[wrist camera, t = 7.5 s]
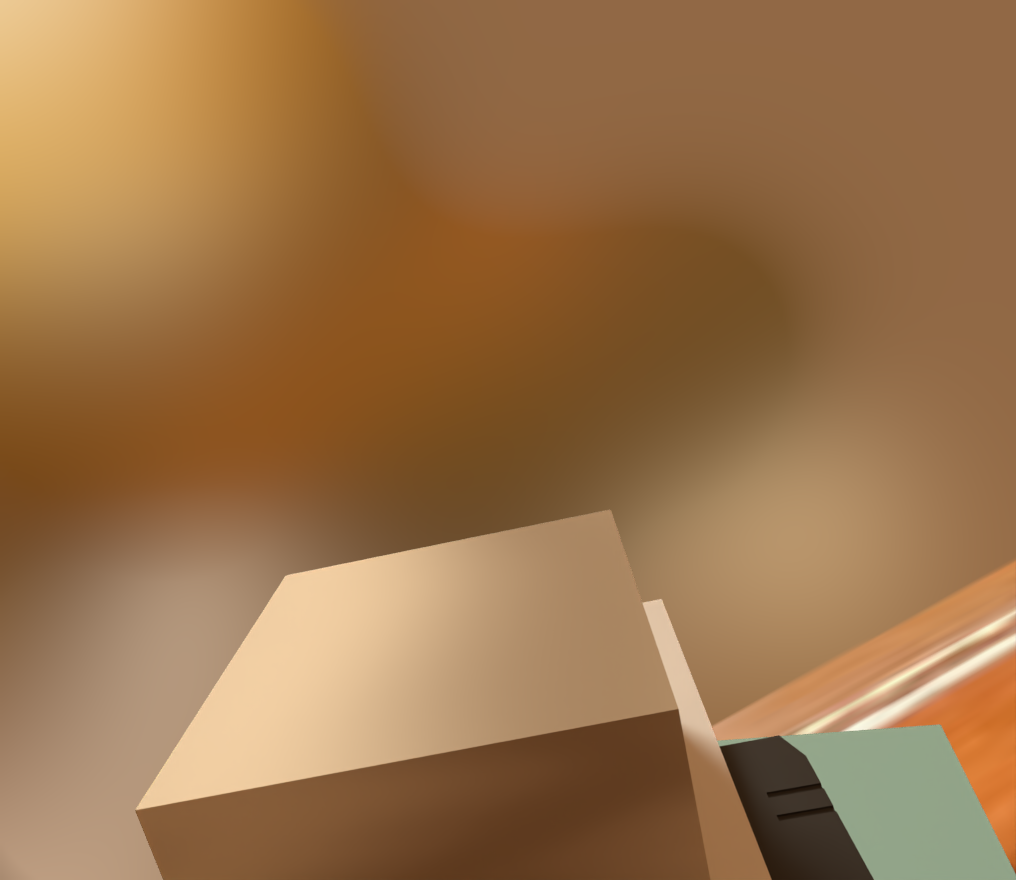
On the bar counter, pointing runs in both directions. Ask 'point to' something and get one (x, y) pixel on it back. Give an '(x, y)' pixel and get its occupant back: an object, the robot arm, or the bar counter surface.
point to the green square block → (905, 803)
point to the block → (440, 726)
